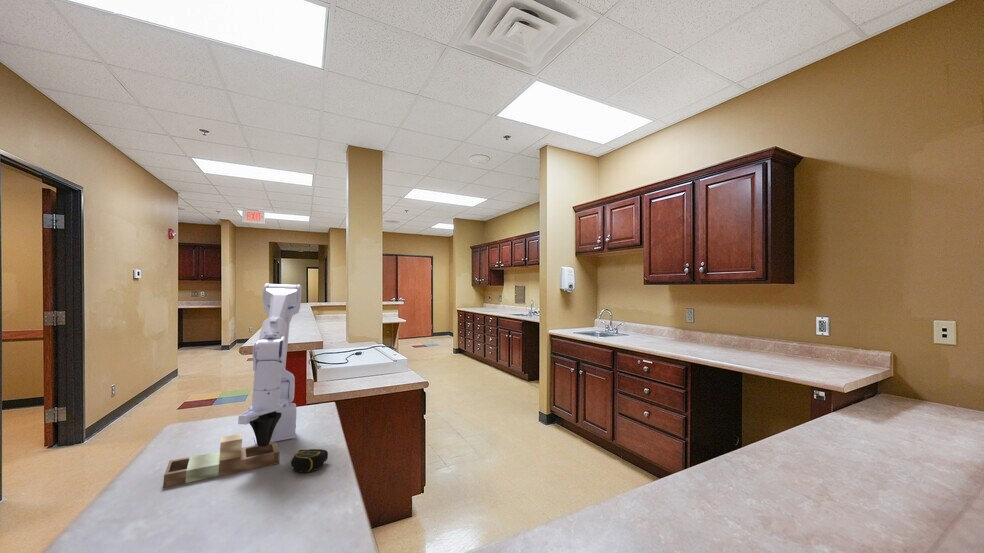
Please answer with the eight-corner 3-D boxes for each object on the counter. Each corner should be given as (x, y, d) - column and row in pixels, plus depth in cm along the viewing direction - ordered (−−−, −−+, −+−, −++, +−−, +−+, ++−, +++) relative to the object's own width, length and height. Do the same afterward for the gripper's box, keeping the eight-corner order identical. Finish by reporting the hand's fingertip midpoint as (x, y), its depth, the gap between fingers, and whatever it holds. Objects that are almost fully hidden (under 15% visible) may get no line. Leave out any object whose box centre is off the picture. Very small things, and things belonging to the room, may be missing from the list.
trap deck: (275, 451, 92) (275, 441, 92) (278, 463, 86) (279, 452, 86) (168, 472, 80) (169, 460, 80) (163, 487, 74) (164, 475, 74)
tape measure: (328, 462, 87) (329, 446, 87) (317, 476, 80) (318, 458, 81) (299, 463, 87) (300, 446, 87) (285, 476, 80) (286, 459, 80)
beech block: (240, 450, 86) (241, 433, 87) (240, 456, 83) (242, 438, 83) (219, 454, 84) (221, 437, 84) (219, 460, 81) (220, 442, 81)
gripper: (272, 381, 96) (269, 433, 95) (227, 394, 82) (223, 456, 81) (297, 382, 95) (294, 435, 94) (256, 396, 81) (252, 458, 80)
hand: (263, 445), depth 87 cm, fingers closed
